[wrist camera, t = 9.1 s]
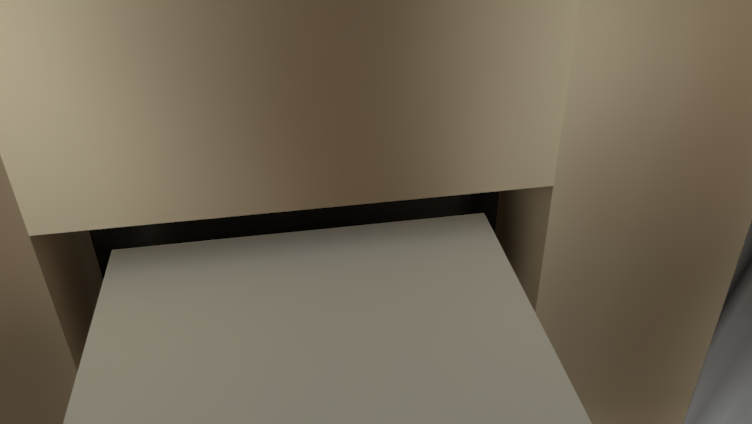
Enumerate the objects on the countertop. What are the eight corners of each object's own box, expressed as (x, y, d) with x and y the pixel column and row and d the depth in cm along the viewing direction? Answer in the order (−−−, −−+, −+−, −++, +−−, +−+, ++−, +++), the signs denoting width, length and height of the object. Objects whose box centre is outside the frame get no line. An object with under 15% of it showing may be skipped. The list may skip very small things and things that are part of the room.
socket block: (34, 561, 15) (6, 664, 13) (-281, -58, 8) (-425, -8, 6) (597, 478, 16) (636, 561, 14) (744, -106, 9) (851, -76, 8)
